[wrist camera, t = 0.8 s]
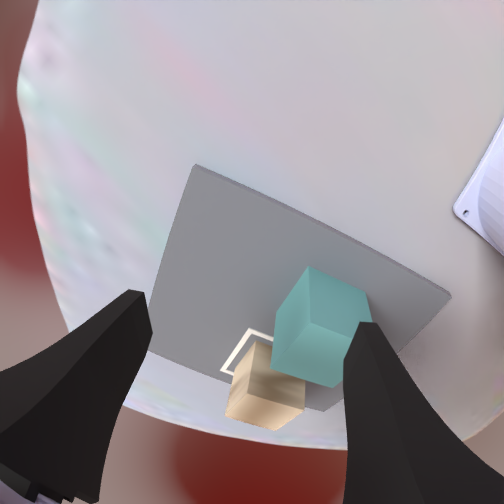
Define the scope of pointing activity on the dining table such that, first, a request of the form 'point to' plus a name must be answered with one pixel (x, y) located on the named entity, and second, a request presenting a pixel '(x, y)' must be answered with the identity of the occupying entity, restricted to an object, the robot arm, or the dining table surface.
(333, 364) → the teal block
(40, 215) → the dining table surface
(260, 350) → the birch block
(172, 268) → the gray board
